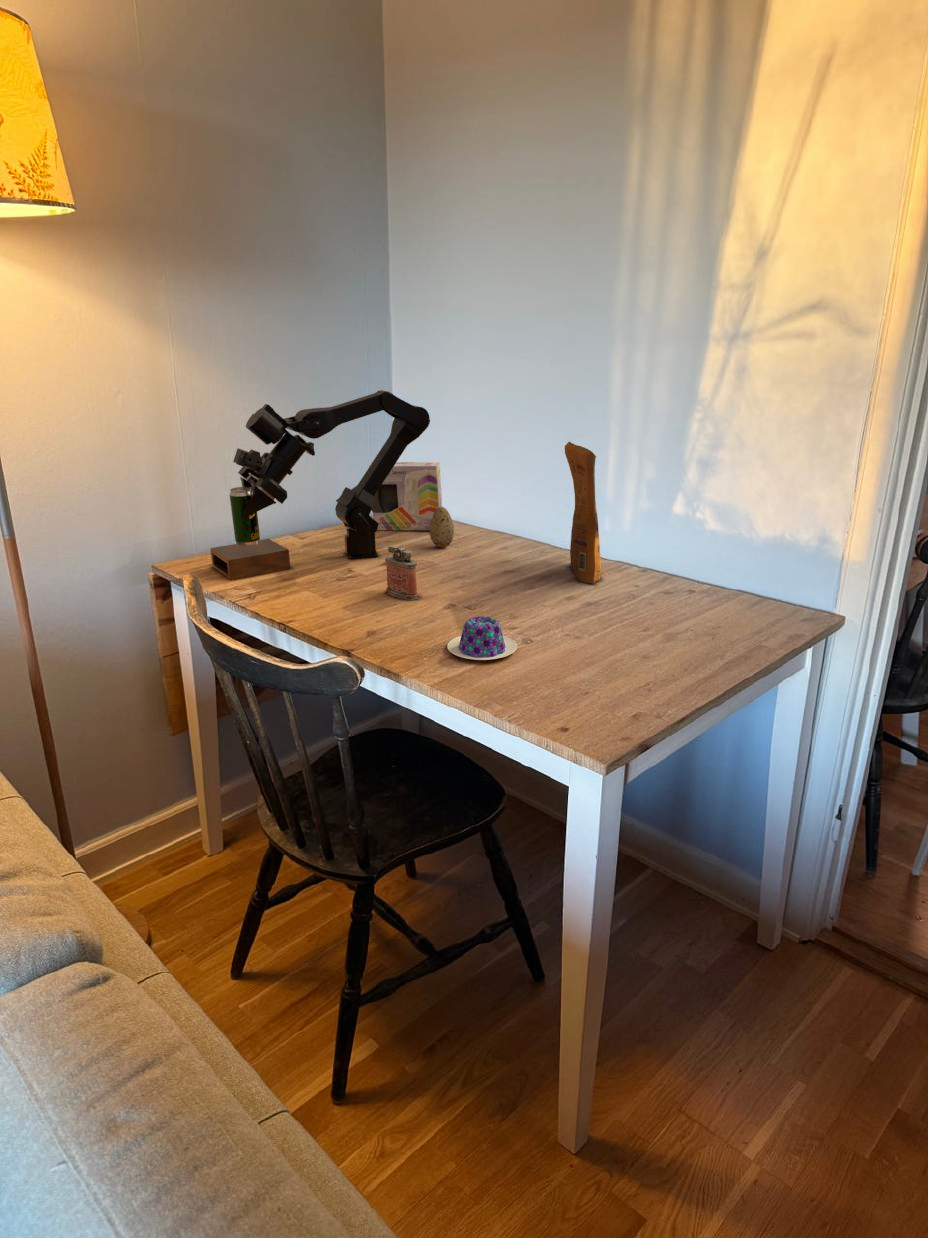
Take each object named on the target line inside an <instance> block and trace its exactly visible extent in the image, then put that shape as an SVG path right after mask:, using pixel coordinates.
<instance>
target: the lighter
mask: <svg viewBox="0 0 928 1238" xmlns="http://www.w3.org/2000/svg"><path fill="white" fill-rule="evenodd" d="M387 553H389V554H392V555H386V556H385V557H384V561H385V564H386V565H385V566H386V582H387V583H386V586H387V587H386V594H388V595H390V596H392V597H394V598H395V597H396V598H399V599H404V600H409V601H413V600H414V601H415V600H417V599H418V598H419V593H418V588H417V587H418V586H417V585H418V584H417V567H418V562H417V561H416V560H414V559H412V551H411V550H407V547H405V546H403V547H398V546H395V545H389V546H387Z"/></svg>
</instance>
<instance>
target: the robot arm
mask: <svg viewBox="0 0 928 1238" xmlns="http://www.w3.org/2000/svg"><path fill="white" fill-rule="evenodd" d="M382 411H384V412H385V413H386V414H387V415H389V416H391V418H393V421H392V422H391V429H390V434H389V436H388V438H387V439H386V440H385V442H384V444H383V445H382V447H381V448H380V450H379V451H378V453H377V454H376V456H375V457H374V459H373V460H372V462H371V463H370V465H369V466H370V467H369V466H368V467H367V470H366V471H365V473H364V475H362V477H361V479H360V481H358V483H357V484H356V485H355V486H354V487H352V488H349V487H347V486H346V487H344V489H343V490H342V493H341V494H340V496H339V497H338V498H337V499H336V500H335V502H336V505H335V509H334V510H335V515H336V517H337V518H338V520H339V521H341V522H342V523H343V526H344V527H345V528H346V534H345V535H344V550H345V553H346V554H347V556H348V557H349V558H350V559H351V560H353V559H355V560H356V559H365V558H374V557H378V556H379V554H378V552H377V548H376V546H377V545H376V544H377V543H376V533H377V532H378V530H377V528H378V522H376V521H375V520H374V519H373V516H370V515H371V512H372V507H373V501H374V496H375V494H376V493H377V491H378V490H379V488H380V487H381V485H382V484H383V482H384V480H385V479H386V477H387V476H388V474H389V473H390V471H391V470H392V468H393V467H394V465H395V464H396V462H399V461H398V460H399V459H400V458H401V456H402V454H404V451H405V450H406V449H407V447H408V446H409V445H410V444H412V443H413V442H414V441H416V440H417V439H419V438H420V437H421V435H422V434H423V433H424V432H425V431H426V430H428V428H429V426H430V423H431V417H430V414H429V412H428V410H427V409H426V408H424V407H423V406H418V405H413V404H411V403H409V402H408V401H405V400H403V399H401V397H398V396H396V395H394V393H392V392H391V391H388V390H383V389H381V390H380V389H379V390H377V391H375V392H373V393H370V394H368V395H364V396H361V397H358V398H355V399H353V400H348V401H345V402H343V403H342V402H341V403H340V404H339V403H338V404H335V405H333V406H328V407H327V406H326V407H314V408H306V409H305V408H303V409H300V410H298V411H297V412H296V413H295V415H294V416H289V417H285V418H283V417H282V416H281V415H280V414H279V413H278V412H276V411H275V409H274V408H273V407H272V406H271V405H270V404H267V403H264V405H263V406H262V407H260V408H259V409H258V410H256V411H255V412H254V413H252V414H251V415H250V417H249V419H248V420H247V421H246V424H245V428H246V429H248V431H249V432H251V433H252V434H253V435H254V436H255V437H256V438H258V440H260V441H261V442H262V443H264V445H267V446H268V445H270V444H272V445H275V446H273V448H272V449H271V450H270V451H269V452H267V451H266V452H264V453H263V454H262V455H261V452H260V451H258V450H254V449H252V448H251V449H250V450H249V451H247V450H245V449H242V448H239V447H237V448H236V451H235V455H234V458H233V461H232V462H233V463H235V464H236V465H237V466H240V467H241V468H240V470H239V471H237V473H238V474H239V475H240V476H239V477H240V478H239V479H240V481H241V487H252V495H251V497H250V498H249V500H248V502H247V503H246V505H245V507H244V509H243V510H242V512H241V514H240V516H241V517H242V518H246V517H248V516H250V515H252V514H254V513H256V512H257V513H258V512H260V511H262V510H263V509H266V508H268V507H271V506H272V505H276V504H277V502H278V503H280V504H281V505H283V504H284V503H285V501H286V500H287V499H288V491H287V490H286V489H284V488H283V487H282V485H281V483H282V482H283V480H285V478H286V477H287V476H288V475H289V476H291V475H292V474H293V473H294V471H292V469H293V468H294V466H295V465H296V463H297V462H298V461H299V460H300V459H301V457H302V456H303V455H304V454H305V453H306V454H308V455H309V456H311V457H312V456H313V457H314V456H315V455H316V452H315V443H314V442H312V441H306V440H305V439H304V438H303V437H302V436H304V437H306V438H309V439H311V440H312V439H313V440H315V439H319V438H321V437H323V436H326V435H327V434H329V433H330V432H332V431H333V430H335V429H336V428H337V427H339V426H340V425H343V424H345V423H348V422H352V421H355V420H358V419H361V418H363V417H366V416H367V417H368V416H370V415H373V414H376V413H379V412H382ZM289 431H292V432H296V433H297V434H294V435H293V434H292V433H291V432H289ZM300 435H301V436H300ZM275 500H276V501H275Z"/></svg>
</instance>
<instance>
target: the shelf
mask: <svg viewBox="0 0 928 1238" xmlns="http://www.w3.org/2000/svg"><path fill="white" fill-rule="evenodd" d="M210 557H211V567H212V568H213V569H214V570H216V571H218V572H219V573H220V574H222V575H223V576H224V577H226V578H227V579H228V580H229V581H233V580H238V579H242V578H248V577H254V576H258V575H264V574H270V573H276V572H280V571H286V570H291V560H290V550H289V548H286V547H285V546H283V545H281V544H279V543H277V542H275V541H274V540H272V539H270V538H265V539H260V541H259V543H257V544H254V545H247V546H243V545H238V544H237V543H233V544H228V545H221V546H213V547H210Z"/></svg>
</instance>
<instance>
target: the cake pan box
mask: <svg viewBox="0 0 928 1238" xmlns="http://www.w3.org/2000/svg"><path fill="white" fill-rule="evenodd" d="M440 464H441V463H440V462H439V461H435V462H434V461H433V462H431V461H430V462H429V461H427V462H425V461H423V462H422V461H421V462H420V461H419V462H418V461H397V462H396V464H395V465H394V467H393V468H392V470H391V471H390V473H389V474H388V476H387V477H386V479H385V480H384V482H383V484H382V485H381V487H380V488H379V490H378V491H377V493H376V494H375V496H374V501H373V507H372V510H371V512H372V518H373V519H374V520H375V521H376V522H378V528H377V531H430V524H431V520H432V517H433V514H434V512H435V511H436V510H437V509H438V508H439V507H443V497H442V481H441V467H440V466H441V465H440ZM369 467H370V465H369V466H368V468H369Z"/></svg>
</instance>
